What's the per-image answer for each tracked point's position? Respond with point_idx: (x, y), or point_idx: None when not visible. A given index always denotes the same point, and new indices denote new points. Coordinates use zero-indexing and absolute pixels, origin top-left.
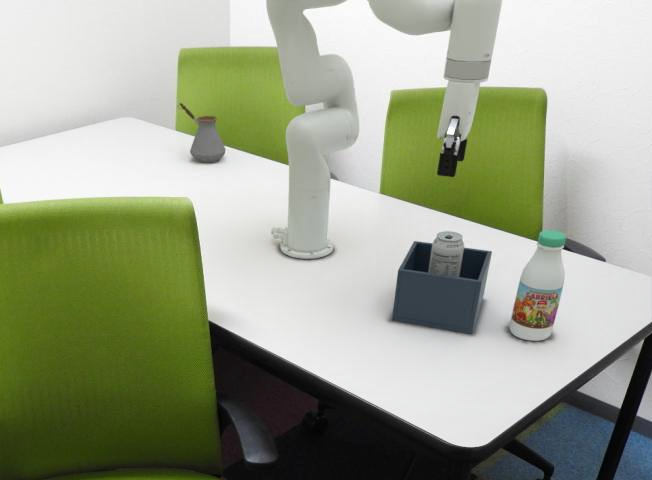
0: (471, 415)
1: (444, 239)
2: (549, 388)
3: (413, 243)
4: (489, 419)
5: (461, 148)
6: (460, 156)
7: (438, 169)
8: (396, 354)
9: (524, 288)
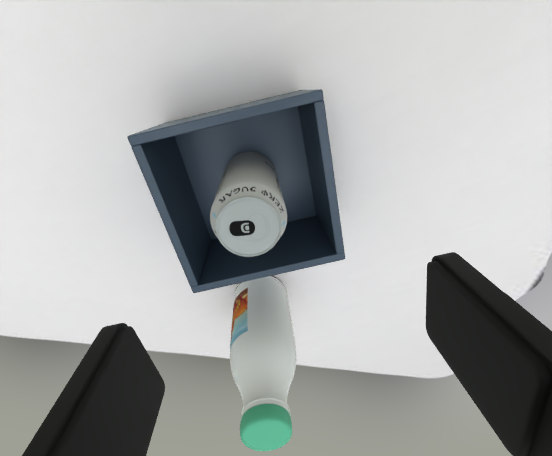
0: (27, 309)
1: (219, 226)
2: (147, 345)
3: (302, 96)
4: (38, 324)
5: (476, 384)
6: (440, 340)
7: (92, 352)
8: (72, 180)
9: (233, 336)
